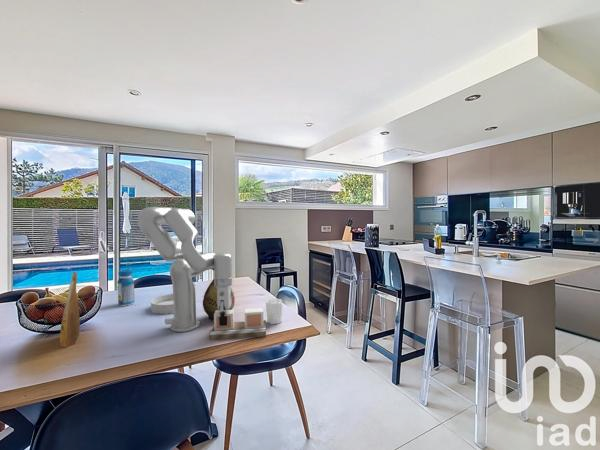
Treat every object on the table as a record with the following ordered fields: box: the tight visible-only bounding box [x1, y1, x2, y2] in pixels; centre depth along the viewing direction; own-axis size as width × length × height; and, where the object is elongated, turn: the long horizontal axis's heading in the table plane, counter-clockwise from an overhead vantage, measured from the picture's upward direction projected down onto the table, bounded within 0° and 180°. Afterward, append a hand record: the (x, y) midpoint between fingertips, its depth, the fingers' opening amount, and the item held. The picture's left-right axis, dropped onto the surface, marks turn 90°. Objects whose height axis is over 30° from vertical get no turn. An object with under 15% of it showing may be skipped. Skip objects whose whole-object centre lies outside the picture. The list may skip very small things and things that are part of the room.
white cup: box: [265, 298, 283, 325], centre depth 138 cm, size 8×8×10 cm
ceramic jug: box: [202, 268, 236, 322], centre depth 146 cm, size 17×15×30 cm
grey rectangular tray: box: [209, 319, 267, 341], centre depth 127 cm, size 23×13×3 cm, turn 97°
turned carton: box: [213, 309, 235, 330], centre depth 127 cm, size 8×5×7 cm, turn 97°
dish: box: [150, 293, 174, 315], centre depth 163 cm, size 22×22×5 cm
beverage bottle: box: [116, 268, 136, 307], centre depth 169 cm, size 8×8×20 cm
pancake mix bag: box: [59, 270, 81, 348], centre depth 121 cm, size 7×19×28 cm, turn 30°
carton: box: [244, 307, 265, 329], centre depth 128 cm, size 8×5×7 cm, turn 97°
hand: (224, 321), depth 127 cm, fingers open, 6 cm apart
